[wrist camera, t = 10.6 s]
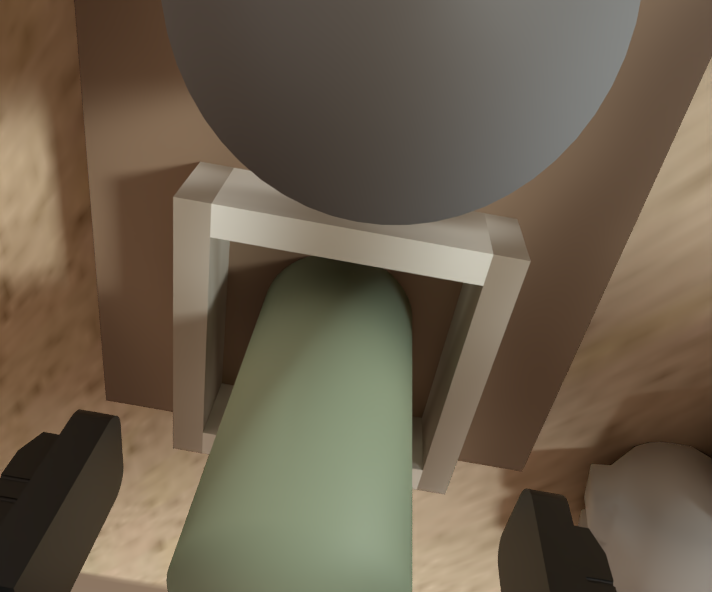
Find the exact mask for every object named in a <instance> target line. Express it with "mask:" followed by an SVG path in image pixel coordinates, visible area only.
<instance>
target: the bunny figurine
mask: <svg viewBox="0 0 712 592" xmlns="http://www.w3.org/2000/svg"><path fill="white" fill-rule="evenodd" d="M584 500H585V507H586V509H583V510H581V514H580V518H579V523H578V526H579V527H585V528H589V529H590V531H591V532H592V534H593V535H594V537H595V538H596V540H597V541H598V543H599V544H600V546H601V547H602V549H603V550H604V552H605V553H606V556H607V559H608V563H609V566H610V570H611V573H612V577H613V580H614V582H613V586H614V587H616V591H617V592H712V458H710V457H708V456H707V455H705V454H703V453H702V452H700V451H698V450H696V449H695V448H693V447H691V446H687V445H680V444H673V443H666V442H651V443H646V444H642V445H639V446H635V447H634V448H633V449H631V450H630V451H629V452H627V453H626V454H625V455H624V456H622V457H621V458H620V459H618V460H617V461H616V462H615V463H613V464H612V465H600V464H591V467H590V471H589V476H588V481H587V485H586V490H585V495H584Z"/></svg>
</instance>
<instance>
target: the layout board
mask: <svg viewBox="0 0 712 592" xmlns="http://www.w3.org/2000/svg"><path fill="white" fill-rule="evenodd" d="M74 2H75V15H76V27H77V40H78V52H79V65H80V77H81V90H82V102H83V115H84V127H85V140H86V152H87V165H88V177H89V190H90V202H91V215H92V227H93V240H94V252H95V265H96V277H97V290H98V302H99V315H100V327H101V340H102V352H103V365H104V377H105V390H106V400H108V401H114V402H119V403H125V404H131V405H137V406H143V407H149V408H154V409H160V410H166V411H172V412H173V448H175V449H180V450H186V451H192V452H198V453H204V454H210V451H211V448H212V445H213V443H214V440H215V437H216V434H217V431H218V429H219V426H220V423H221V420H222V417H223V415H224V412H225V409H226V406H227V403H228V401H229V398H230V395H231V392H232V389H233V387H234V384H235V381H236V378H237V375H238V373H239V370H240V367H241V364H242V361H243V359H244V356H245V353H246V350H247V347H248V345H249V342H250V339H251V336H252V333H253V331H254V328H255V325H256V322H257V319H258V317H259V314H260V311H261V308H262V305H263V303H264V300H265V297H266V294H267V291H268V289H269V287H270V285H271V283H272V282H273V281H274V279H275V278H276V277H277V275H278V274H279V273H281V272H282V271H283V270H284V269H285V268H286V267H288V266H289V265H291V264H292V263H294V262H296V261H298V260H300V259H303V258H306V257H308V256H318V257H324V258H329V259H335V260H340V261H346V262H352V263H357V264H363V265H368V266H374V267H380V268H384V269H385V270H386V271H388V272H389V273H390V274H391V275H392V276H393V277H394V278H395V279H396V280H397V281H398V282H399V283H400V285H401V286H402V288H403V289H404V291H405V292H406V295H407V297H408V299H409V302H410V305H411V310H412V489H416V490H422V491H428V492H434V493H440V494H445V493H446V490H447V488H448V485H449V482H450V480H451V477H452V474H453V471H454V469H455V466H456V463H457V460H458V461H464V462H470V463H476V464H482V465H488V466H493V467H499V468H505V469H511V470H517V471H522V470H523V468H524V466H525V464H526V462H527V459H528V457H529V455H530V453H531V451H532V448H533V446H534V444H535V442H536V440H537V438H538V435H539V433H540V431H541V429H542V427H543V424H544V422H545V420H546V418H547V416H548V413H549V411H550V409H551V407H552V405H553V403H554V400H555V398H556V396H557V394H558V392H559V389H560V387H561V385H562V383H563V381H564V378H565V376H566V374H567V372H568V370H569V368H570V365H571V363H572V361H573V359H574V357H575V354H576V352H577V350H578V348H579V346H580V343H581V341H582V339H583V337H584V335H585V332H586V330H587V328H588V326H589V324H590V322H591V319H592V317H593V315H594V313H595V311H596V308H597V306H598V304H599V302H600V300H601V297H602V295H603V293H604V291H605V289H606V287H607V284H608V282H609V280H610V278H611V276H612V273H613V271H614V269H615V267H616V265H617V262H618V260H619V258H620V256H621V254H622V252H623V249H624V247H625V245H626V243H627V241H628V238H629V236H630V234H631V232H632V230H633V227H634V225H635V223H636V221H637V219H638V217H639V214H640V212H641V210H642V208H643V206H644V203H645V201H646V199H647V197H648V195H649V192H650V190H651V188H652V186H653V184H654V181H655V179H656V177H657V175H658V173H659V171H660V168H661V166H662V164H663V162H664V160H665V157H666V155H667V153H668V151H669V149H670V146H671V144H672V142H673V140H674V138H675V136H676V133H677V131H678V129H679V127H680V125H681V122H682V120H683V118H684V116H685V114H686V111H687V109H688V107H689V105H690V103H691V101H692V98H693V96H694V94H695V92H696V90H697V87H698V85H699V83H700V81H701V79H702V76H703V74H704V72H705V70H706V68H707V66H708V63H709V61H710V59H711V57H712V0H74Z"/></svg>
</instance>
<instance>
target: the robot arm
mask: <svg viewBox="0 0 712 592" xmlns="http://www.w3.org/2000/svg"><path fill="white" fill-rule="evenodd" d="M122 477H123V454H122V439H121V425H120V419H119V417H118V416H114V415H109V414H103V413H97V412H91V411H86V410H77V411H76V412H75V413H74V414H73V415H72V417H71V418H70V420H69V421H68V423H67V424H66V426H65V427H64V429H63V430H62V432H61V433H60V435H57V434H52V433H46V432H43V433H41V434H40V435H39V436H37V437H36V438H35V439H33V440H32V441H30V442H29V443H28V444H26V445H25V446H24V447H22V448H21V449H20V450H18V451H17V453H16V454H15V456H14V457H13V458H12V460H11V461H10V463H9V464H8V465H7V467H6V468H5V470H4V471H3V473H2V474H1V478H0V592H70V591H71V589H72V587H73V585H74V583H75V581H76V579H77V577H78V575H79V573H80V571H81V569H82V567H83V565H84V563H85V561H86V559H87V557H88V555H89V553H90V551H91V549H92V547H93V545H94V543H95V541H96V539H97V537H98V534H99V532H100V530H101V528H102V526H103V524H104V522H105V520H106V518H107V516H108V514H109V512H110V510H111V508H112V506H113V504H114V502H115V500H116V498H117V495H118V492H119V489H120V486H121V482H122ZM498 569H499V577H500V586H501V592H617V591H616V587H614V586H613V582H614V580H613V577H612V573H611V570H610V566H609V563H608V559H607V556H606V553H605V552H604V550H603V549H602V547H601V546H600V544H599V543H598V541H597V540H596V538H595V537H594V535H593V534H592V532H591V531H590V529H589V528H585V527H579V526H574V525H573V521H572V517H571V513H570V509H569V505H568V502H567V499H566V498H565V497H564V496H563V495H559V494H554V493H548V492H542V491H536V490H531V489H524V490H523V491H522V493H521V495H520V497H519V499H518V501H517V503H516V505H515V507H514V510H513V512H512V514H511V516H510V518H509V520H508V522H507V525H506V527H505V529H504V531H503V533H502V536H501V539H500V544H499V551H498Z"/></svg>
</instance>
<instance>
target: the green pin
mask: <svg viewBox="0 0 712 592" xmlns="http://www.w3.org/2000/svg"><path fill="white" fill-rule="evenodd" d="M167 589H168V592H412V310H411V305H410V302H409V299H408V297H407V295H406V292H405V291H404V289H403V288H402V286H401V285H400V283H399V282H398V281H397V280H396V279H395V278H394V277H393V276H392V275H391V274H390V273H389V272H388V271H386V270H385V269H384V268H380V267H374V266H368V265H363V264H357V263H352V262H346V261H340V260H335V259H329V258H324V257H318V256H308V257H306V258H303V259H300V260H298V261H296V262H294V263H292V264H291V265H289V266H288V267H286V268H285V269H284V270H283V271H282V272H281V273H279V274H278V275H277V277H276V278H275V279H274V281H273V282H272V283H271V285H270V287H269V289H268V291H267V294H266V297H265V300H264V303H263V305H262V308H261V311H260V314H259V317H258V319H257V322H256V325H255V328H254V331H253V333H252V336H251V339H250V342H249V345H248V347H247V350H246V353H245V356H244V359H243V361H242V364H241V367H240V370H239V373H238V375H237V378H236V381H235V384H234V387H233V389H232V392H231V395H230V398H229V401H228V403H227V406H226V409H225V412H224V415H223V417H222V420H221V423H220V426H219V429H218V431H217V434H216V437H215V440H214V443H213V445H212V448H211V451H210V454H209V457H208V459H207V462H206V465H205V468H204V471H203V473H202V476H201V479H200V482H199V485H198V487H197V490H196V493H195V496H194V499H193V501H192V504H191V507H190V510H189V513H188V515H187V518H186V521H185V524H184V527H183V529H182V532H181V535H180V538H179V541H178V543H177V546H176V549H175V552H174V555H173V557H172V560H171V563H170V566H169V569H168V572H167Z"/></svg>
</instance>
